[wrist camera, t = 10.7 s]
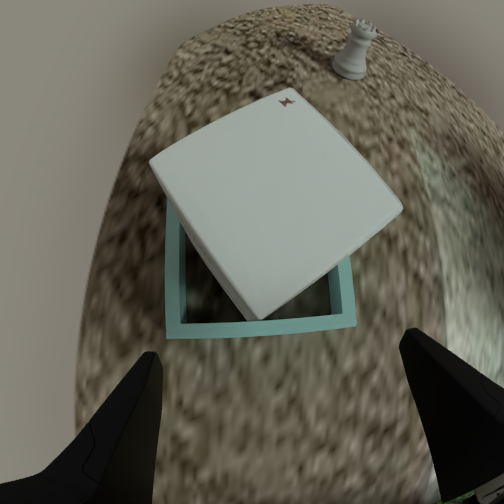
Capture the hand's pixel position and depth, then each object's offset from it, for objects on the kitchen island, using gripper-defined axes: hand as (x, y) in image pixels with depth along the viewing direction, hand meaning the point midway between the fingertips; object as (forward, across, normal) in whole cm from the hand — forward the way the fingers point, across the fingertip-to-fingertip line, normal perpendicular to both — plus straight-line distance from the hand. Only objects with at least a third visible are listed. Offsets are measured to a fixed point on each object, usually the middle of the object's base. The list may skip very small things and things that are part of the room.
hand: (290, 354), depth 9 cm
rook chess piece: (+29, -13, -13) cm, 34 cm away
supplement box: (+13, 0, +4) cm, 13 cm away
